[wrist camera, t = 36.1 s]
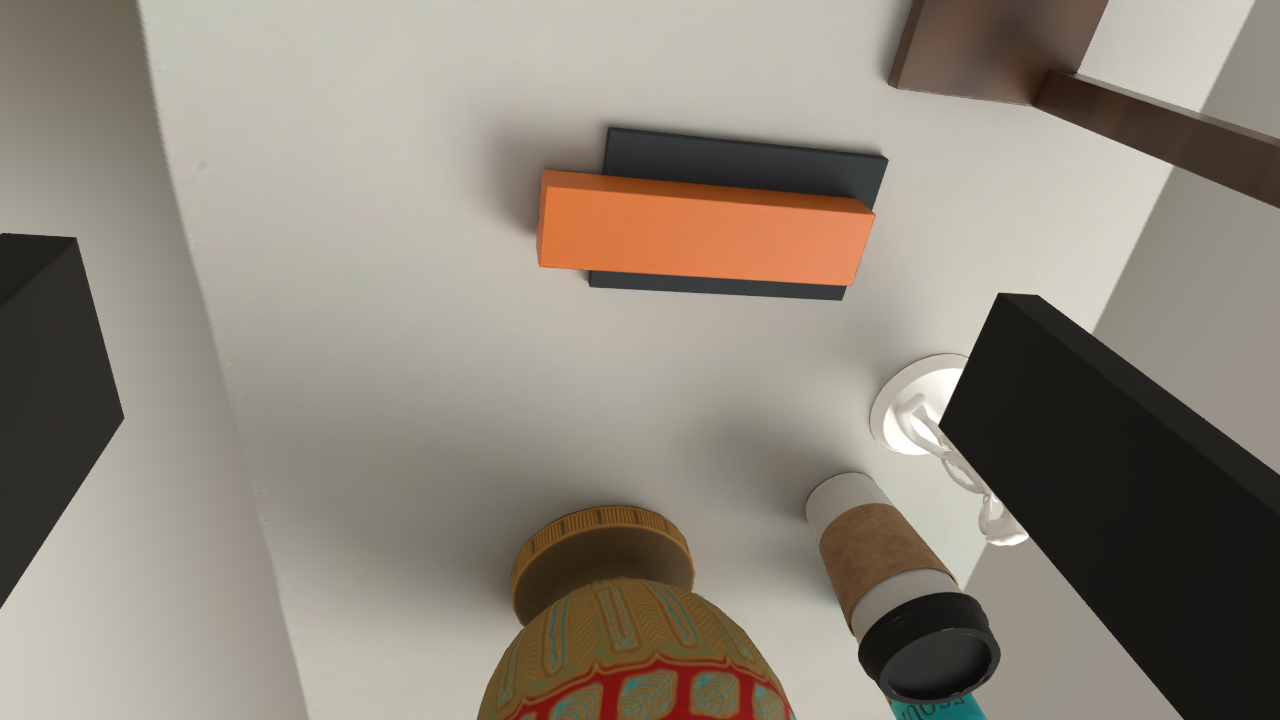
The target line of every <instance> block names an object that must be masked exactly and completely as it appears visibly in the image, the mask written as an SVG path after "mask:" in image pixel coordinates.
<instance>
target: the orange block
mask: <svg viewBox="0 0 1280 720" xmlns="http://www.w3.org/2000/svg"><path fill="white" fill-rule="evenodd" d="M874 219H875V214H874V213H873V212H872V211H871V210H870V209H868V208H867V207H866V206H865V205H864V204H862V203H861V202H860V201H859V200H858V199H856V198H845V197H835V196H824V195H813V194H802V193H791V192H780V191H770V190H759V189H748V188H737V187H726V186H715V185H705V184H694V183H683V182H672V181H661V180H650V179H640V178H629V177H618V176H607V175H596V174H585V173H575V172H564V171H553V170H543V173H542V184H541V196H540V207H539V219H538V230H537V242H536V250H537V256H538V262H539V267H548V268H564V269H580V270H597V271H613V272H630V273H646V274H663V275H679V276H695V277H712V278H728V279H745V280H761V281H777V282H794V283H810V284H827V285H843V286H852V283H853V280H854V278H855V275H856V272H857V269H858V266H859V263H860V260H861V257H862V254H863V251H864V248H865V245H866V242H867V239H868V236H869V233H870V230H871V227H872V224H873V221H874Z"/></svg>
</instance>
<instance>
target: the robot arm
mask: <svg viewBox="0 0 1280 720" xmlns="http://www.w3.org/2000/svg"><path fill="white" fill-rule="evenodd" d="M123 419H124V415H123V411H122V407H121V403H120V400H119V396H118V392H117V388H116V385H115V381H114V377H113V373H112V370H111V366H110V362H109V358H108V355H107V351H106V347H105V344H104V340H103V336H102V332H101V329H100V325H99V321H98V317H97V313H96V310H95V306H94V302H93V298H92V295H91V291H90V287H89V283H88V280H87V276H86V272H85V268H84V265H83V261H82V257H81V253H80V250H79V246H78V243H77V239H76V237H61V236H44V235H27V234H11V233H2V234H0V609H1V607H2V606H3V604H4V602H5V601H6V599H7V598H8V596H9V595H10V593H11V592H12V590H13V588H14V587H15V586H16V584H17V583H18V581H19V579H20V578H21V576H22V575H23V573H24V572H25V570H26V569H27V567H28V566H29V564H30V563H31V561H32V560H33V558H34V556H35V555H36V553H37V552H38V550H39V549H40V547H41V546H42V544H43V543H44V541H45V540H46V538H47V537H48V535H49V533H50V532H51V530H52V529H53V527H54V526H55V524H56V523H57V521H58V520H59V518H60V516H61V515H62V513H63V512H64V510H65V509H66V507H67V506H68V504H69V503H70V501H71V500H72V498H73V497H74V495H75V493H76V492H77V490H78V489H79V487H80V486H81V484H82V483H83V481H84V480H85V478H86V477H87V475H88V474H89V472H90V470H91V469H92V467H93V466H94V464H95V463H96V461H97V460H98V458H99V457H100V455H101V454H102V452H103V451H104V449H105V447H106V446H107V444H108V443H109V441H110V440H111V438H112V437H113V435H114V434H115V432H116V430H117V429H118V427H119V426H120V424H121V423H122V421H123ZM938 427H939V428H940V430H941V431H942V432H943V433H944V434H945V436H946V437H947V438H948V439H949V440H950V442H951V443H952V444H953V445H954V446H955V448H956V449H957V450H958V451H959V452H960V453H961V455H962V456H963V457H964V458H965V459H966V461H967V462H968V463H969V464H970V465H971V467H972V468H973V469H974V470H975V471H976V473H977V474H978V475H979V476H980V477H981V478H982V480H983V481H984V482H985V483H986V484H987V486H988V487H989V488H990V489H991V490H992V492H993V493H994V494H995V495H996V496H997V498H998V499H999V500H1000V501H1001V502H1002V503H1003V505H1004V506H1005V507H1006V508H1007V509H1008V511H1009V512H1010V513H1011V514H1012V515H1013V517H1014V518H1015V519H1016V520H1017V521H1018V523H1019V524H1020V525H1021V526H1022V527H1023V529H1024V530H1025V531H1026V532H1027V533H1028V534H1029V536H1030V537H1031V538H1032V539H1033V540H1034V542H1035V543H1036V544H1037V545H1038V546H1039V548H1040V549H1041V550H1042V551H1043V552H1044V554H1045V555H1046V556H1047V557H1048V558H1049V559H1050V561H1051V562H1052V563H1053V564H1054V565H1055V567H1056V568H1057V569H1058V570H1059V571H1060V573H1061V574H1062V575H1063V576H1064V577H1065V578H1066V580H1067V581H1068V582H1069V583H1070V584H1071V586H1072V587H1073V588H1074V589H1075V590H1076V592H1077V593H1078V594H1079V595H1080V596H1081V598H1082V599H1083V600H1084V601H1085V602H1086V604H1087V605H1088V606H1089V607H1090V608H1091V609H1092V611H1093V612H1094V613H1095V614H1096V615H1097V617H1098V618H1099V619H1100V620H1101V621H1102V623H1103V624H1104V625H1105V626H1106V627H1107V629H1108V630H1109V631H1110V632H1111V633H1112V635H1113V636H1114V637H1115V638H1116V639H1117V640H1118V642H1119V643H1120V644H1121V645H1122V646H1123V648H1124V649H1125V650H1126V651H1127V652H1128V654H1129V655H1130V656H1131V657H1132V658H1133V659H1134V661H1135V662H1136V663H1137V664H1138V666H1139V667H1140V668H1141V669H1142V670H1143V671H1144V673H1145V674H1146V675H1147V676H1148V677H1149V679H1150V680H1151V681H1152V682H1153V683H1154V685H1156V687H1157V688H1158V689H1159V690H1160V692H1161V693H1162V694H1163V695H1164V696H1165V698H1166V699H1167V700H1168V701H1169V702H1170V704H1171V705H1172V706H1173V707H1174V708H1175V710H1176V711H1177V712H1178V713H1179V714H1180V715H1181V717H1182V718H1183V719H1184V720H1280V475H1279V474H1278V473H1276V472H1275V471H1274V470H1272V469H1271V468H1270V467H1268V466H1267V465H1265V464H1264V463H1262V462H1261V461H1260V460H1259V459H1257V458H1256V457H1255V456H1253V455H1252V454H1251V453H1249V452H1248V451H1247V450H1245V449H1244V448H1242V447H1241V446H1240V445H1239V444H1237V443H1236V442H1234V441H1233V440H1232V439H1231V438H1229V437H1228V436H1227V435H1225V434H1224V433H1222V432H1221V431H1220V430H1219V429H1217V428H1216V427H1214V426H1213V425H1212V424H1210V423H1209V422H1208V421H1206V420H1205V419H1204V418H1202V417H1201V416H1200V415H1198V414H1197V413H1196V412H1194V411H1193V410H1192V409H1190V408H1189V407H1187V406H1186V405H1185V404H1184V403H1182V402H1181V401H1179V400H1178V399H1177V398H1176V397H1174V396H1173V395H1171V394H1170V393H1169V392H1167V391H1166V390H1165V389H1163V388H1162V387H1161V386H1159V385H1158V384H1157V383H1155V382H1154V381H1152V380H1151V379H1150V378H1149V377H1147V376H1146V375H1145V374H1143V373H1142V372H1141V371H1139V370H1138V369H1137V368H1135V367H1134V366H1133V365H1131V364H1130V363H1128V362H1127V361H1126V360H1124V359H1123V358H1122V357H1120V356H1119V355H1118V354H1116V353H1115V352H1114V351H1112V350H1111V349H1110V348H1108V347H1107V346H1106V345H1104V344H1103V343H1102V342H1100V341H1099V340H1098V339H1096V338H1095V337H1094V336H1092V335H1091V334H1090V333H1088V332H1087V331H1086V330H1084V329H1083V328H1082V327H1080V326H1079V325H1077V324H1076V323H1075V322H1073V321H1072V320H1071V319H1069V318H1068V317H1067V316H1065V315H1064V314H1063V313H1061V312H1060V311H1059V310H1057V309H1056V308H1055V307H1053V306H1052V305H1051V304H1049V303H1048V302H1047V301H1045V300H1044V299H1043V298H1041V297H1040V296H1039V295H1029V294H1012V293H998V295H997V297H996V299H995V301H994V304H993V306H992V308H991V310H990V312H989V315H988V317H987V319H986V321H985V323H984V326H983V328H982V330H981V332H980V334H979V337H978V339H977V341H976V343H975V345H974V348H973V350H972V352H971V354H970V356H969V358H968V361H967V363H966V365H965V367H964V369H963V372H962V374H961V376H960V378H959V380H958V383H957V385H956V387H955V389H954V391H953V394H952V396H951V398H950V400H949V402H948V405H947V407H946V409H945V411H944V413H943V415H942V418H941V420H940V422H939V424H938Z"/></svg>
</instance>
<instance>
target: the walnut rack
mask: <svg viewBox="0 0 1280 720" xmlns="http://www.w3.org/2000/svg"><path fill="white" fill-rule="evenodd" d="M1108 1H1109V0H914V3H913V6H912V9H911V12H910V15H909V18H908V22H907V25H906V28H905V31H904V34H903V37H902V41H901V44H900V47H899V50H898V53H897V56H896V60H895V63H894V66H893V69H892V72H891V75H890V79H889V82H888V85H890V86H892V87H894V88H896V89H902V90H910V91H918V92H925V93H933V94H940V95H948V96H956V97H963V98H971V99H978V100H986V101H994V102H1001V103H1009V104H1017V105H1024V106H1032V107H1034V108H1037V109H1039V110H1042V111H1044V112H1047V113H1049V114H1051V115H1054V116H1056V117H1059V118H1061V119H1063V120H1066V121H1068V122H1071V123H1073V124H1076V125H1078V126H1080V127H1083V128H1085V129H1088V130H1090V131H1093V132H1095V133H1097V134H1100V135H1102V136H1105V137H1107V138H1109V139H1112V140H1114V141H1117V142H1119V143H1122V144H1124V145H1126V146H1129V147H1131V148H1134V149H1136V150H1139V151H1141V152H1143V153H1146V154H1148V155H1151V156H1153V157H1155V158H1158V159H1160V160H1163V161H1165V162H1168V163H1170V164H1172V165H1175V166H1177V167H1180V168H1182V169H1185V170H1187V171H1189V172H1192V173H1194V174H1197V175H1199V176H1201V177H1204V178H1207V179H1209V180H1211V181H1214V182H1216V183H1218V184H1221V185H1223V186H1226V187H1228V188H1231V189H1233V190H1236V191H1238V192H1240V193H1243V194H1245V195H1248V196H1250V197H1253V198H1255V199H1257V200H1260V201H1262V202H1264V203H1267V204H1269V205H1272V206H1274V207H1277V208H1279V209H1280V139H1277V138H1275V137H1271V136H1268V135H1265V134H1262V133H1259V132H1256V131H1253V130H1250V129H1247V128H1244V127H1241V126H1238V125H1235V124H1232V123H1229V122H1225V121H1222V120H1219V119H1216V118H1213V117H1210V116H1207V115H1204V114H1201V113H1198V112H1195V111H1192V110H1189V109H1186V108H1183V107H1180V106H1176V105H1173V104H1170V103H1167V102H1164V101H1161V100H1158V99H1155V98H1152V97H1149V96H1146V95H1143V94H1140V93H1137V92H1134V91H1131V90H1127V89H1124V88H1121V87H1118V86H1115V85H1112V84H1109V83H1106V82H1103V81H1100V80H1097V79H1094V78H1091V77H1088V76H1085V75H1081V74H1078V73H1077V71H1078V69H1079V67H1080V65H1081V62H1082V60H1083V58H1084V55H1085V53H1086V51H1087V49H1088V46H1089V44H1090V42H1091V40H1092V37H1093V35H1094V33H1095V31H1096V28H1097V26H1098V24H1099V21H1100V19H1101V17H1102V15H1103V12H1104V10H1105V8H1106V6H1107V3H1108Z"/></svg>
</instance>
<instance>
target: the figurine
mask: <svg viewBox="0 0 1280 720" xmlns="http://www.w3.org/2000/svg"><path fill="white" fill-rule="evenodd" d="M967 361H968V358H967V357H964V356H961V355H955V354H941V355H935V356H931V357H927V358H924V359H922V360H919V361H917V362H914V363H913V364H911V365H909V366H907V367H906V368H904V369H902V370H901V371H900V372H899V373H897V374H896V375H895V376H894V377H892V379H891V380H890V381H889V382H888V383H887V384H886V385H885V386H884V387H883V389H882V390H881V391H880V393H879V394H878V396H877V398H876V400H875V402H874V404H873V406H872V410H871V414H870V427H871V431H872V434H873V436H874V437H875V439H876V441H877V442H879V443H880V444H881V445H882V446H883V447H885V448H887V449H889V450H892V451H895V452H899V453H904V454H910V455H921V454H928V453H932V454H934V455H936V456H937V457H939V458H941V460H942V463H943V465H944V467H945V469H946V471H947V472H948V474H949V476H950V477H951V478H952V479H953V480H954V481H955V482H956V483H958V484H959V485H960V486H962V487H963V488H965V489H966V490H968V491H971V492H973V493H977V494H984V496H983V506H982V509H981V511H980V515H979V528H980V531H981V532H982V533H983V534H984V535H986V540H987V541H988V542H990V543H993V544H995V545H999V546H1003V545H1011V546H1012V545H1015V544H1018V543H1020V542H1022V541H1024V540H1026V539H1027V538H1028V535H1029V534H1028V533H1027V532H1026V531H1025V530H1024V529H1023V527H1022V526H1021V525H1020V524H1019V523H1018V521H1017V520H1016V519H1015V518H1014V517H1013V515H1012V514H1011V513H1010V512H1009V511H1008V509H1007V508H1006V507H1005V506H1004V505H1003V503H1002V502H1001V501H1000V500H999V499H998V498H997V496H996V495H995V494H994V493H993V492H992V490H991V489H990V488H989V487H988V486H987V484H986V483H985V482H984V481H983V480H982V478H981V477H980V476H979V475H978V474H977V473H976V471H975V470H974V469H973V468H972V467H971V465H970V464H969V463H968V462H967V461H966V459H965V458H964V457H963V456H962V455H961V453H960V452H959V451H958V450H957V449H956V448H955V446H954V445H953V444H952V443H951V442H950V440H949V439H948V438H947V437H946V436H945V434H944V433H943V432H942V431H941V430H940V428H939V427H938V424H939V422H940V420H941V418H942V415H943V413H944V411H945V409H946V407H947V405H948V402H949V400H950V398H951V396H952V394H953V391H954V389H955V387H956V385H957V383H958V380H959V378H960V376H961V374H962V372H963V369H964V367H965V365H966V363H967ZM946 447H949V449H951V450H952V451H948V450H946V449H944V448H946ZM949 463H950V464H952V465H954V466H955V467H957V468H959V469H960V470H962V471H963V472H964V473H965V474H966V475H967V476H968V477H969V478H970V479H971V480H972V481H973V482H974V484H973V485H971V484H967V483H966V482H964V481H963V480H961V479H960V478H959V477H958V476H957V475H956V474H955V473H954V471H953V470H952V469H951V467H950V465H949ZM992 501H994V502H999V503H1001V504H1002V505H1003V508H1004V515H1003V518H1002V519H996V520H990V516H991V509H992Z"/></svg>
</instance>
